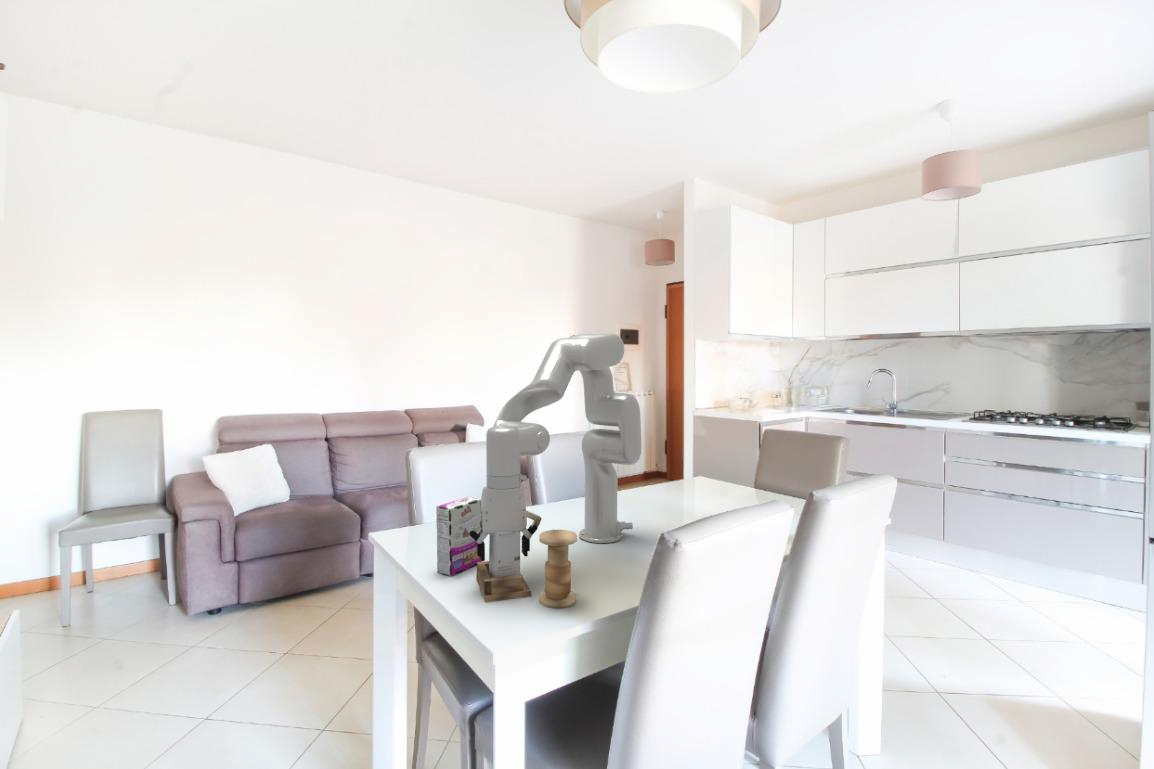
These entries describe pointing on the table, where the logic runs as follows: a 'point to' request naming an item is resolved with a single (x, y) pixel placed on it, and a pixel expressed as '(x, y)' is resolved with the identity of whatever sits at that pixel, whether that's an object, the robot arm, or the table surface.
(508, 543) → the skincare box
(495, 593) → the wooden u-shaped holder
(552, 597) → the bobbin
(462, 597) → the table surface
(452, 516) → the candy bar box
